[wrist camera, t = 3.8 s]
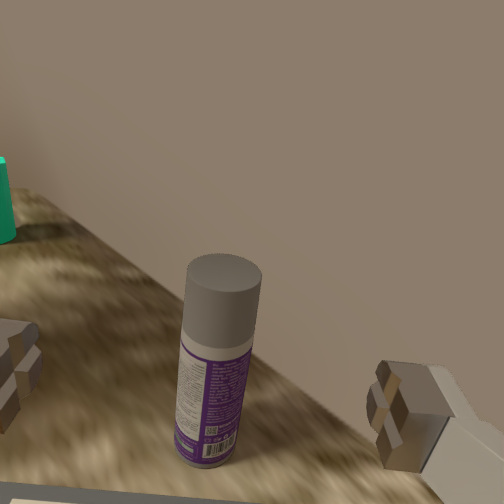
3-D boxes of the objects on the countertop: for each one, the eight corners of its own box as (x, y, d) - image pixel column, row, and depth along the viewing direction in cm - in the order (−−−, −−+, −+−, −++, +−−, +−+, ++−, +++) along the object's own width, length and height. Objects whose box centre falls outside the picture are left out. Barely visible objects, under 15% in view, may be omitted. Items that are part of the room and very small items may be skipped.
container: (238, 419, 32) (265, 258, 26) (232, 473, 28) (262, 298, 21) (181, 411, 32) (193, 247, 26) (166, 464, 28) (176, 285, 21)
